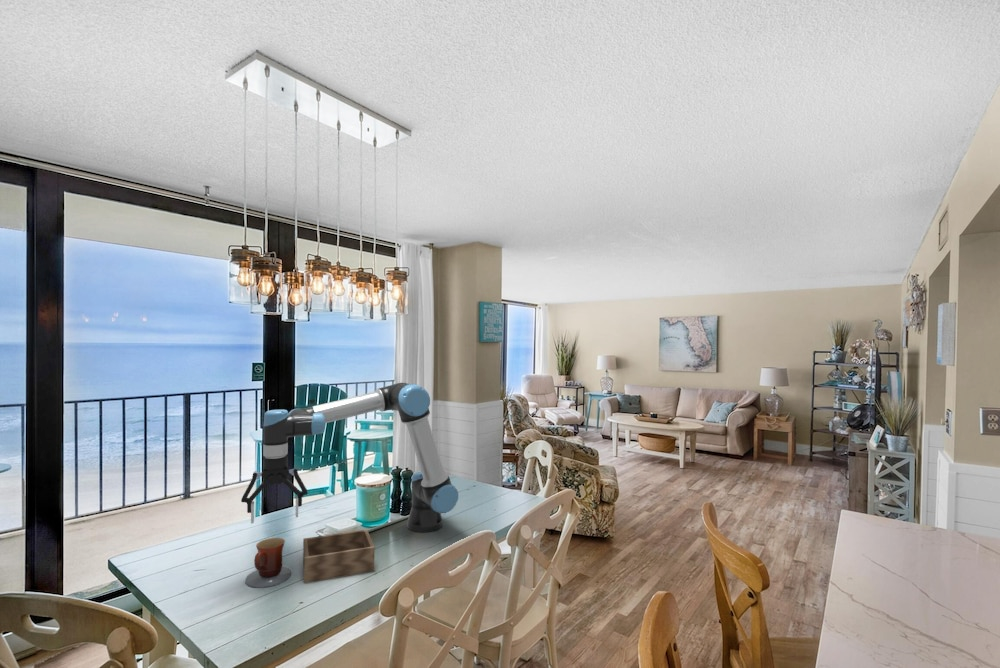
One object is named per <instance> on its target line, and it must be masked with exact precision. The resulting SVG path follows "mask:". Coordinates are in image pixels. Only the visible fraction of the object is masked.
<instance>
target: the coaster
mask: <svg viewBox="0 0 1000 668" xmlns="http://www.w3.org/2000/svg"><path fill="white" fill-rule="evenodd" d="M292 573H293V572H292V569H291V568H290V567H287V566H284V565H282V570H281V572H280V573H279V574H278V575H276V576H273V577H269V578H264V577H261V576H260V575H259V573H258V570H257V569H255V570H254V571H252V572H250V573H249V574H248V575H247V576H246V577H245V579H244V580H245V582H244V584H245V585H246V586H247V587H250V588H254V589H264V588H269V587H275V586H278V585H281V584H282V583H285V581H286V582H287V580H289V579H290V578H292V577H291V576H292Z"/></svg>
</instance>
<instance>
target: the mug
mask: <svg viewBox="0 0 1000 668" xmlns="http://www.w3.org/2000/svg"><path fill="white" fill-rule="evenodd" d="M285 543H286V541H285V539H284V538H280V537H270V538H266V539H265V538H264V539H262V540H260V541H259V542H257V543H256V550H257V552H256V553H255V555H254V559H253V560H254V567H255V570H258V573H259V575H260V576H261V577H264V578H269V577H273V576H276V575H278V574H279V573H280V572H281V570H282V566H284V565H283V549H284V547H285V546H284V545H285Z"/></svg>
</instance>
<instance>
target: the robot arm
mask: <svg viewBox="0 0 1000 668" xmlns="http://www.w3.org/2000/svg"><path fill="white" fill-rule="evenodd" d="M430 406H431V396H430V394H429V392H428V391H427V390H426V389H425V388H424V387H423V386H421V385H419V384H414V383H413V384H412V383H408V382H397V383H393V384H390V385H387V386H383V387H379V388H376V389H375V391H373V392H368V393H363V394H360V395H356V396H352V397H347V398H343V399H339V400H334V401H330V402H326V403H321V404H318V405H313V406H310V407H304V408H296V407H295V408H294V409H291V410H290V411H288V410H287V409H271V410H267V411H265V412H264V416H263V425H262V426H263V449H262V451H263V452H262V453H263V454H262V455H263V461H262V463H263V464H262V472H258V471H256V470H255V471H253V473H252V478H251V480H250V482H249V484H248V486H247V488H246V490H245V491H244V493H243V495H242V497H241V500H240V501H241V503H246V505H247V506H246V509H247V510H246V512H247V514H250V524H254V522H255V499H256V498H257V496H258V495H259V494H260V493H261V492H262V490H263V489H264V488H265V487H266V486H267V485H270V486H273V485H280V484H282V483H283V484H284V485H286V487H288V488H289V489H290V490H291V491H292V492H293V493H294V494H295V495H296V496H295V518H299V507H302V506H303V503H302V502H303V496H307V495H308V489H307V487H306V486H305V484H304V482H303V481H302V479H301V477H300V475H299V473H298V468H297V467H294V468H292V469H291V468H290V469H289V468H288V467H289V466H288V465H289V464H288V463H289V462H288V458H289V457H288V453H289V451H288V449H289V445H288V444H289V441H288V439H289V438H293V437H306V436H307V437H308V436H315V435H320V434H321V435H322V434H323V433H324V431H325V429H326V424H328V423H332V422H337V421H340V420H345V419H348V418H352V417H357V416H361V415H364V414H365V415H366V414H368V413H372V412H376V411H379V412H381V413H382V412H387V411H397V412H398V415H399V417H400V421H401V423H402V424H405V425H406V427H407V430H408V431H407V432H408V434H409V437H410V440H411V443H412V446H413V449H414V453H415V456H416V459H417V462H418V465H419V470H420V471H417V472H415V473H413V474H412V477H411V509H410V512H409V515H408V518H407V524H406V526H407V529H408V530H410V531H411V532H418V533H428V532H434V531H437V530H439V529H441V528H442V527H443V523H444V522H443V517H442V514H447V513H449V512H451V511H452V510H453V509H454V508H455V507H456V505H457V503H458V500H459V491H458V489H457V488H456V486H454V485H453V484H452V481H451V479H450V475H449V472H446V471H444V468H443V465H442V462H441V458H440V455H439V451H438V447H437V444H436V441H435V438H434V435H433V432H432V428H431V425H430V422H429V418H428V417H429V416H430V414H431V413H430ZM288 475H292V476H293V477H294V479H295V481H296V483H297V484H298V486H299V488H300V490H301V491H300V490H299V489H298V487H297V486H296V485H294V484H293V483H292V482H291V481H290V479H289V478H288V477H287V476H288ZM260 477H261V478H262V479H263V481H261V483H260V484H259V485H258V486H257V488H256V489H255V490H254V491H253V492H252V494H251V495H250V496H249V494H250V493H251V491H252V489H253V487H254V485H255V483H256V481H257V480H259V479H260ZM248 496H249V497H248Z"/></svg>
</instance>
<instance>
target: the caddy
mask: <svg viewBox="0 0 1000 668" xmlns="http://www.w3.org/2000/svg"><path fill="white" fill-rule="evenodd" d="M302 539H303V541H302V542H303V544H302V545H303V547H302V566H303V583H304V584H308V583H312V582H318V581H325V580H329V579H330V580H331V579H335V578H340V577H347V576H352V575H357V574H363V573H369V572H370V573H371V572H375V551H376V549H375V545H374V543H373V541H372V538H371V535H370V533H369V530H368V529H361V530H353V531H349V532H339V533H334V534H327V535H319V536H312V537H305V538H302Z"/></svg>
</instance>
